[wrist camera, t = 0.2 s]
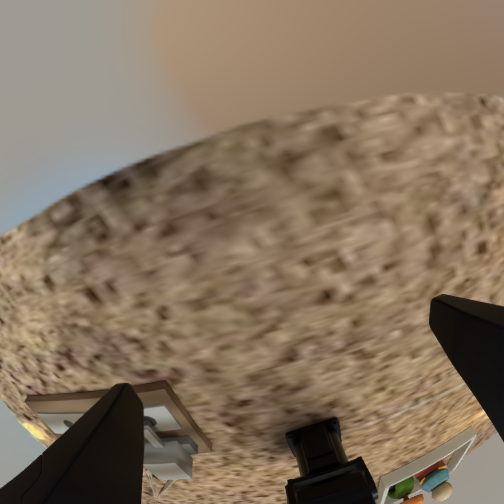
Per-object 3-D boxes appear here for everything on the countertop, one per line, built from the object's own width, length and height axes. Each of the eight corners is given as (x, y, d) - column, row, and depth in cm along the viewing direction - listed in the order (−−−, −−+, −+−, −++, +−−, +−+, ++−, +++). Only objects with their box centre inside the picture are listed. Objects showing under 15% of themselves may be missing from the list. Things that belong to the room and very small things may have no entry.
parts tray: (449, 463, 46) (453, 470, 43) (375, 502, 46) (378, 510, 43) (471, 425, 39) (477, 434, 36) (380, 476, 39) (385, 487, 36)
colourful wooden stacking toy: (433, 472, 46) (450, 503, 34) (379, 495, 45) (394, 531, 33) (463, 436, 40) (486, 470, 29) (405, 464, 39) (427, 507, 27)
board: (212, 444, 29) (212, 480, 23) (78, 450, 29) (70, 476, 24) (166, 380, 25) (158, 422, 20) (27, 395, 25) (12, 422, 20)
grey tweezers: (147, 463, 31) (145, 474, 29) (178, 470, 32) (177, 481, 30) (144, 492, 37) (143, 500, 35) (168, 497, 38) (167, 505, 36)
